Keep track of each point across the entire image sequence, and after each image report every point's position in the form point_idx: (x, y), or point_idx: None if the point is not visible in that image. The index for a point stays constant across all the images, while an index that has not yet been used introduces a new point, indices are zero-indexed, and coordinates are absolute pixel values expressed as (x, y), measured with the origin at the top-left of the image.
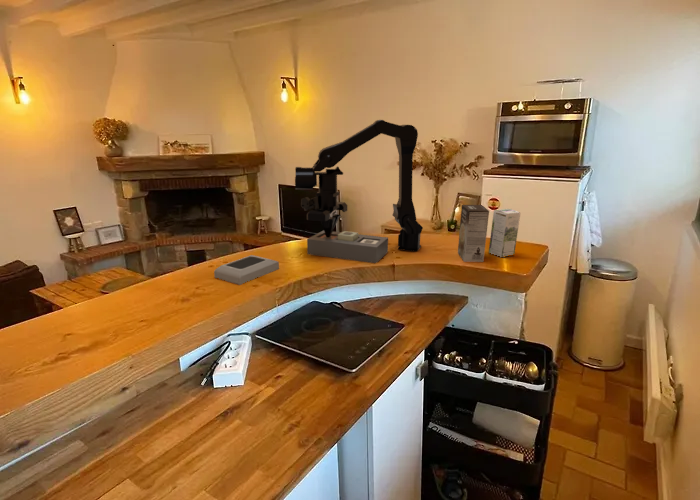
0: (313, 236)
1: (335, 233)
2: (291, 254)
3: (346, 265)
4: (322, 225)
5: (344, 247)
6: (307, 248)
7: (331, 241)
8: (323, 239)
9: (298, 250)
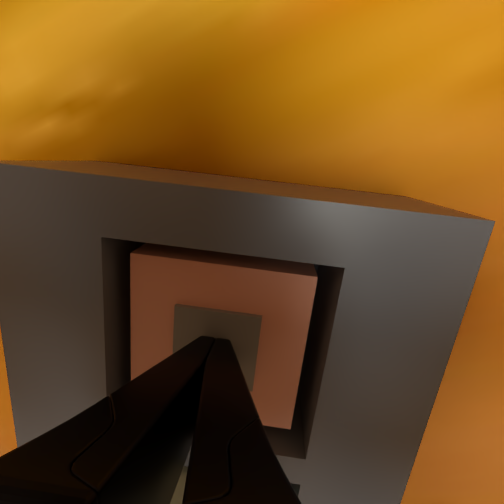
0: (123, 196)
1: (350, 406)
2: (32, 20)
3: (12, 445)
4: (55, 427)
5: None
6: (64, 161)
7: (28, 433)
8: (54, 349)
9: (162, 31)
